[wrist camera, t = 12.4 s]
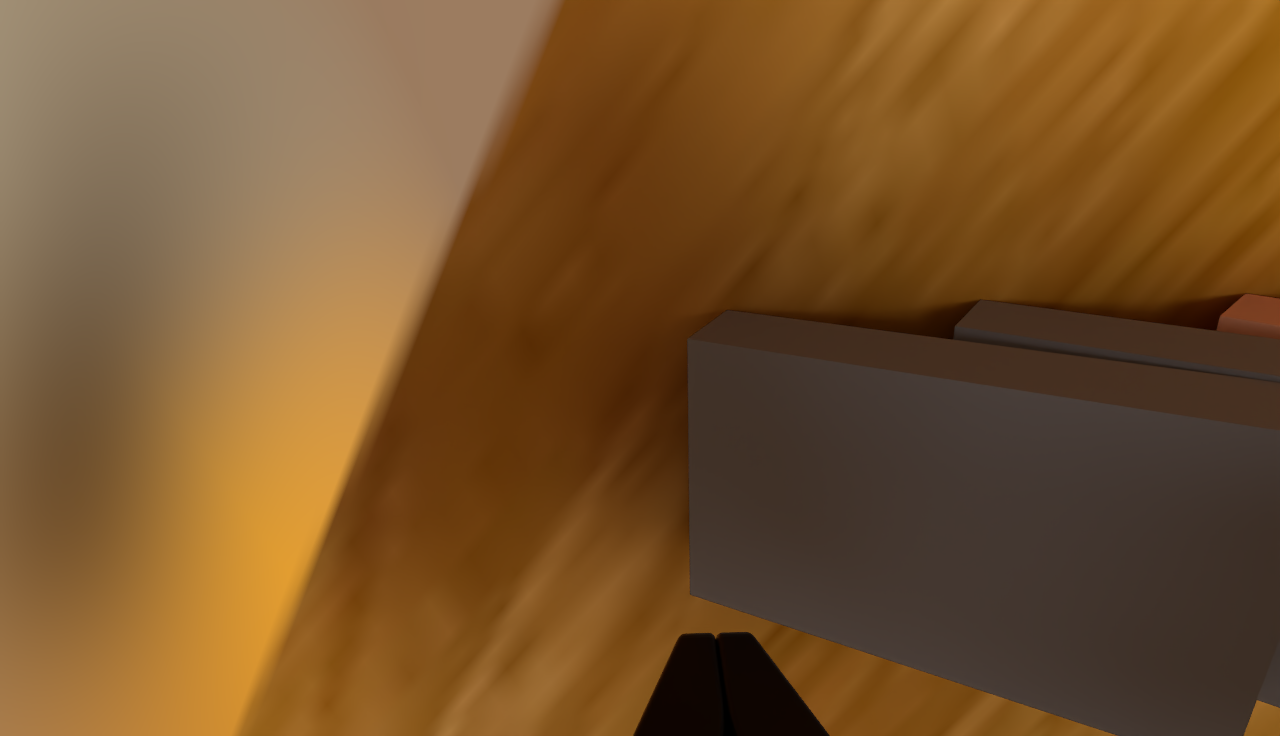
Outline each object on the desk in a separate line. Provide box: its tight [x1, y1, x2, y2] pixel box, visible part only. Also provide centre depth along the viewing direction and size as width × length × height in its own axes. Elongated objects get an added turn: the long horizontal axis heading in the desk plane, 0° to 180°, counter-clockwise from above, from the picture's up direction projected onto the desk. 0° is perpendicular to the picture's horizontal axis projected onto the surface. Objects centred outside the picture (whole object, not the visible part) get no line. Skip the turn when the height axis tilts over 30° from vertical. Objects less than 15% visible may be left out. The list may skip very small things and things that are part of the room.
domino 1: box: [687, 310, 1280, 736], centre depth 12 cm, size 5×2×8 cm
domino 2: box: [953, 300, 1280, 708], centre depth 11 cm, size 5×2×8 cm
